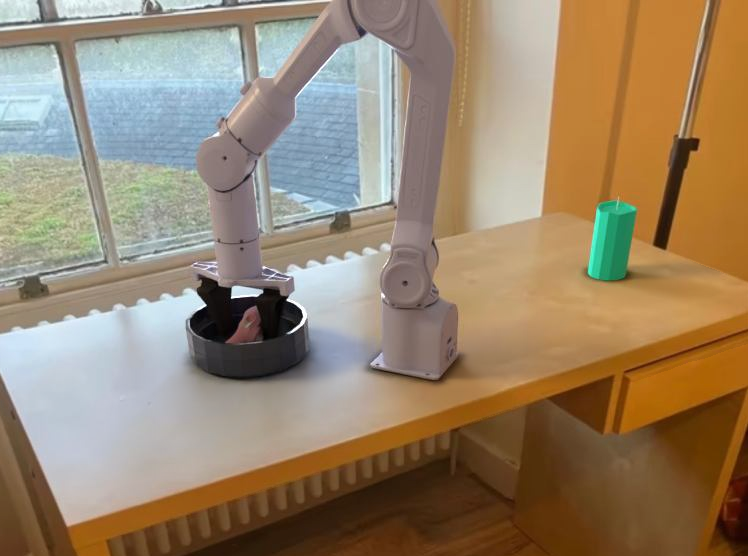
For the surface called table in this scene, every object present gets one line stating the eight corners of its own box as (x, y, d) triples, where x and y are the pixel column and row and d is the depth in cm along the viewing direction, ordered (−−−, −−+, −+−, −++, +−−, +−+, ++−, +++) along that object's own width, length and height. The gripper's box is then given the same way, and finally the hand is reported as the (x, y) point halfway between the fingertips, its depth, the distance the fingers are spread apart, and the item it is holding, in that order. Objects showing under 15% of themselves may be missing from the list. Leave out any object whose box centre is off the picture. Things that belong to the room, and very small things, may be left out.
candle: (586, 266, 132) (597, 190, 125) (623, 267, 131) (636, 191, 124) (589, 280, 127) (600, 202, 120) (628, 281, 126) (641, 202, 119)
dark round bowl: (329, 339, 112) (327, 305, 109) (270, 390, 101) (266, 353, 98) (233, 321, 118) (229, 288, 115) (167, 367, 107) (160, 332, 104)
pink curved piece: (245, 376, 106) (262, 333, 102) (213, 359, 105) (230, 316, 101) (267, 343, 114) (284, 302, 109) (238, 328, 113) (254, 286, 109)
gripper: (169, 239, 100) (187, 340, 108) (269, 254, 94) (280, 359, 103) (202, 222, 105) (216, 320, 113) (299, 236, 99) (306, 337, 108)
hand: (248, 337), depth 108 cm, fingers closed on pink curved piece, 6 cm apart
